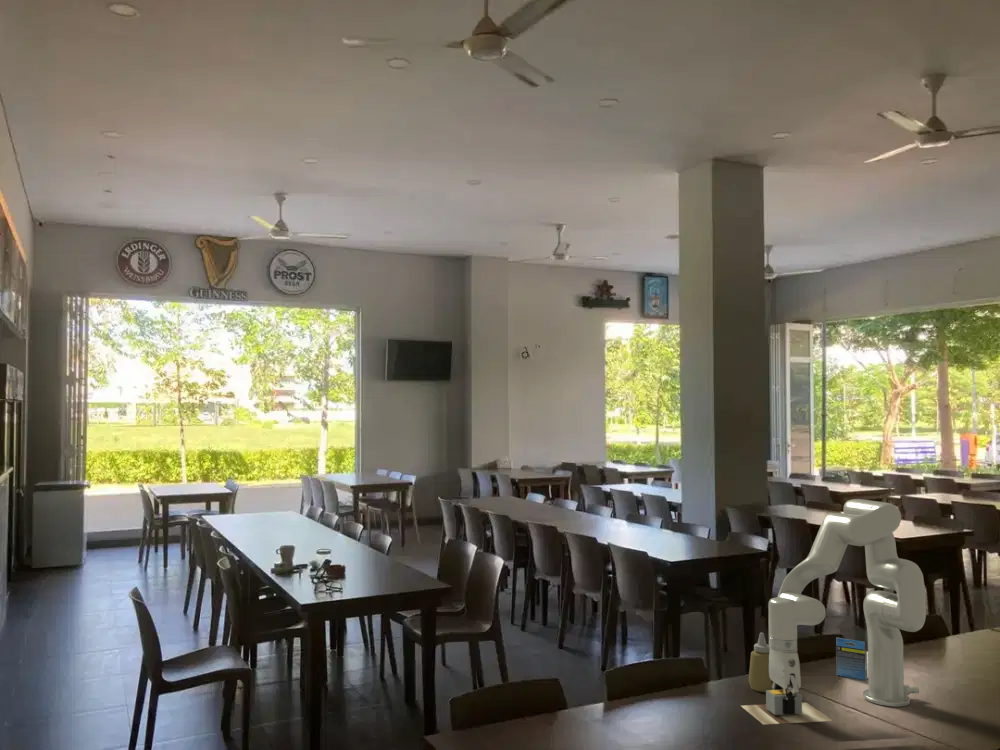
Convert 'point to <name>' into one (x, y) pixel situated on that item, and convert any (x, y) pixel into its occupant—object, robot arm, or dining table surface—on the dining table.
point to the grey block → (781, 702)
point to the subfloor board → (769, 718)
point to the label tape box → (851, 659)
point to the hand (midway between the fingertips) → (783, 709)
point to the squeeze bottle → (760, 666)
